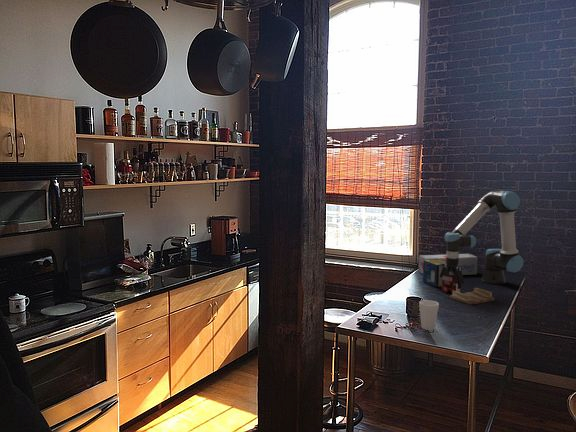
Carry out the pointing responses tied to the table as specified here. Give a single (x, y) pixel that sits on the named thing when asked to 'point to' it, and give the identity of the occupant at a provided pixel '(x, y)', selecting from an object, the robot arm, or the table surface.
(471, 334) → the table surface
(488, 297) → the cradle
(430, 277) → the protein box
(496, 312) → the table surface
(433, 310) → the foam cup
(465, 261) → the soda pack
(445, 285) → the toy fire truck
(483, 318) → the table surface
